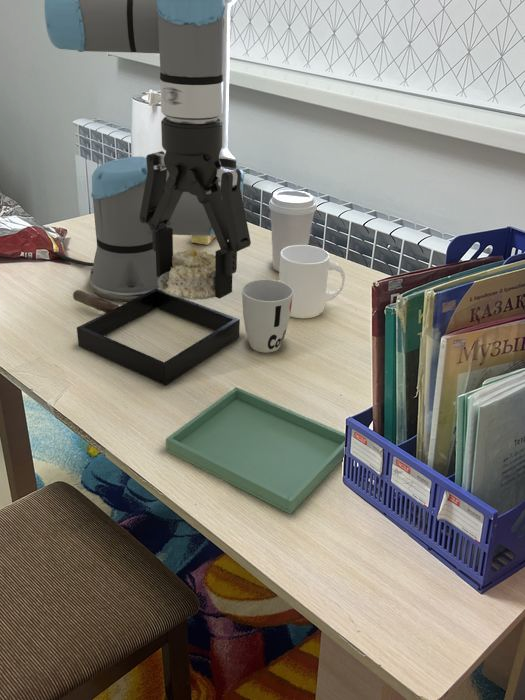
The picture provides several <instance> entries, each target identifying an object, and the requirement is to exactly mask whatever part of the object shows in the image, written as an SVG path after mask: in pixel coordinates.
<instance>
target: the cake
mask: <svg viewBox="0 0 525 700" xmlns="http://www.w3.org/2000/svg"><path fill="white" fill-rule="evenodd" d="M215 257H216V255H215V254H213V253H208V252H207V251H202V252H201V251H199V250H194V249H193V250H191V251H190V250H189V251H187V250H184V251H178V252H176V253H174V254H173V256H172V259H173V260H172V265H173V268H172V267H170V268H171V270H170V271H169V272H166V273H164V274H162V275H161V276H160V277H159V278H158V281H157V283H158V286H159V288H160V289H161V290H162V291H164V292H165V293H168V294H169V295H172V296H175V297H179V298H182V299H186V300H194V301H196V300H208V299H212V298H216V297H215Z"/></svg>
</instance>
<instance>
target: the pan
mask: <svg viewBox="0 0 525 700" xmlns="http://www.w3.org/2000/svg"><path fill="white" fill-rule="evenodd" d="M72 298H73V300H74V301H76V302H78V303H81V304H83V305H85V306H88V307H90V308H92V309H95V310H97V311H100V312H102V313H103V314H100V315H99V316H97V317H95V318H93V319H91V320H89V321H87V322H85V323H83V324H81V325H78V326H77V327H76V335H77V344H78V347H79V348H81V349H83V350H85V351H87V352H89V353H92V354H94V355H96V356H98V357H101V358H102V359H103V358H104V359H105V360H107V361H110V362H112V363H114V364H117V365H119V366H121V367H123V368H125V369H128V370H130V371H132V372H134V373H136V374H137V375H140V376H143V377H145V378H147V379H149V380H151V381H154V382H156V383H158V384H160V385H162V386H168V385H169V384H171V383H172V382H173V381H175V380H177V379H178V378H180V377H181V376H183V375H184V374H186V373H187V372H189V371H190V370H192V369H194V368H195V367H197V366H198V365H200V364H201V363H202V362H204V361H205V360H207V359H209V358H211V357H212V356H213V355H215V354H216V353H218V352H219V351H221V350H222V349H224V348H225V347H227V346H229V345H230V344H231V343H233V342H235V341H236V340H238V339H239V338H240V327H241V325H240V323H241V319H240V318H237V317H235V316H232V315H230V314H227V313H225V312H221V311H219V310H216V309H214V308H210V307H208V306H205V305H202V304H200V303H197V302H194V301H192V300H190V299H182V298H179V297H175V296H172V295H169V294H168V293H165V292H164V291H162V290H159V289H156V288H155V289H153V290H151V291H149V292H147V293H145V294H143V295H141V296H139V297H137V298H135V299H133V300H131V301H126V302H125V303H123V304H121V305H118V304H116V303H113V302H111V301H108V300H107V299H104V298H102V297H98V296H96V295H93V294H91V293H89V292H86V291H83V290H81V289H77V290H74V291H73V293H72ZM157 309H158V310H160V311H163V312H165V313H168V314H170V315H173V316H175V317H178V318H181V319H184V320H186V321H189V322H191V323H193V324H196V325H199V326H201V327H204V328H207V329H209V330H213V332H211V333H210V334H208V335H206V336H204V337H203V338H201V339H199V340H198V341H196V342H195V343H193V344H192V345H190V346H188V347H187V348H185V349H183V350H182V351H180V352H178V353H177V354H175V355H174V356H172V357H170V358H169V359H168V360H165V361H163V360H160V359H158V358H156V357H153V356H151V355H148V354H146V353H144V352H142V351H139V350H137V349H135V348H133V347H130V346H128V345H126V344H123V343H121V342H118V341H116V340H115V339H112V338H109V337H107V336H106V335H108V334H111V333H113V332H114V331H116V330H118V329H120V328H122V327H124V326H126V325H127V324H129V323H132V322H133V321H135V320H137V319H139V318H141V317H143V316H145V315H147V314H149V313H151V312H152V311H154V310H157Z"/></svg>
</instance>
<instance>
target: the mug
mask: <svg viewBox="0 0 525 700" xmlns="http://www.w3.org/2000/svg"><path fill="white" fill-rule="evenodd" d="M329 271H335V272H337V273H339V275H340V276H341V284H340V286H339V288H338V289H337V290H335V291H327V288H328V276H329V275H328V274H329ZM278 281H281V282H284V283H286V284H288V285H289V286H291V288H292V289H293V297H292V305H291V313H290V318H296V319H313V318H315V317H318V316H319V315H321V314H322V313H323V312H324V309H325V305H326V302H330V301H332V300H334V299H336V298H337V297H338V296H339V295H340V294H341V292H342V291H343V288H344V285H345V281H346V276H345V271H344V269H343V268H342V267H341V265H340V264H338V263H337V262H335V261H333V260H331V258H330V254H329V252H328V251H327V250H325V249H324V248H322V247H320V246H319V247H318V246H315V245H309V244H308V245H293V246H289V247H286V248H284V249H283V250H282V251H281V253H280V270H279V272H278Z"/></svg>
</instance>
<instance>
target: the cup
mask: <svg viewBox="0 0 525 700" xmlns="http://www.w3.org/2000/svg"><path fill="white" fill-rule="evenodd" d="M292 297H293V289H292V288H291V286H289V285H288V284H286V283H284V282H281V281H279V280H276V279H266V278H265V279H256V280H251V281H249V282H247V283H245V284H244V285H242V287H241V301H242V303H241V304H242V317H243V323H244V331H245V334H246V337H247V340H248V343H249V347H250V348H251V349H253V350H254V351H256V352H259V353H273V352H276V351H278V350H279V349H280V348H281V345H282V343H283V341H284V339H285V337H286V334H287V330H288V325H289V323H290V318H291V316H290V313H291V305H292Z"/></svg>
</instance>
